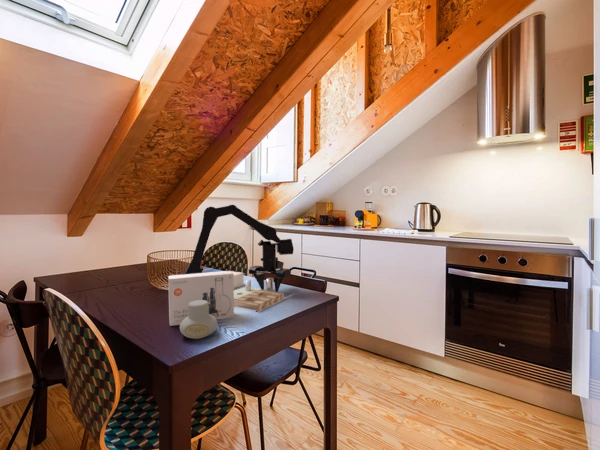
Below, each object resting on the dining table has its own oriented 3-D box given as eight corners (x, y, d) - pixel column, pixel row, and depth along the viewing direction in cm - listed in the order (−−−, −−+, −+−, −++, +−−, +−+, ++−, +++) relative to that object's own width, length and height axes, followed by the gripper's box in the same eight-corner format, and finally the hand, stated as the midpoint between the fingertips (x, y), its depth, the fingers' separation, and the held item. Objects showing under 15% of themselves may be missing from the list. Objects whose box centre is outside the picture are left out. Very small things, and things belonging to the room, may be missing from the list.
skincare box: (169, 327, 104) (168, 278, 103) (169, 321, 109) (167, 275, 108) (235, 317, 112) (233, 272, 111) (231, 312, 117) (230, 269, 116)
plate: (242, 300, 133) (241, 287, 132) (222, 296, 138) (221, 284, 138) (264, 290, 147) (264, 279, 146) (245, 287, 152) (245, 277, 152)
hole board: (257, 311, 118) (257, 305, 118) (232, 307, 124) (231, 300, 123) (283, 299, 133) (283, 293, 133) (260, 295, 139) (260, 289, 139)
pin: (270, 295, 138) (270, 279, 138) (264, 295, 140) (264, 279, 139) (274, 294, 141) (274, 278, 141) (268, 293, 143) (268, 277, 142)
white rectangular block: (226, 292, 145) (226, 277, 144) (214, 290, 148) (214, 276, 148) (243, 286, 155) (243, 272, 155) (232, 284, 159) (232, 271, 158)
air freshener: (177, 342, 93) (176, 308, 92) (183, 331, 101) (182, 299, 100) (216, 339, 94) (215, 305, 94) (219, 328, 102) (218, 297, 102)
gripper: (297, 254, 142) (297, 289, 143) (262, 251, 151) (263, 284, 152) (283, 258, 132) (284, 295, 133) (247, 254, 141) (248, 290, 142)
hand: (269, 291), depth 140 cm, fingers open, 7 cm apart
